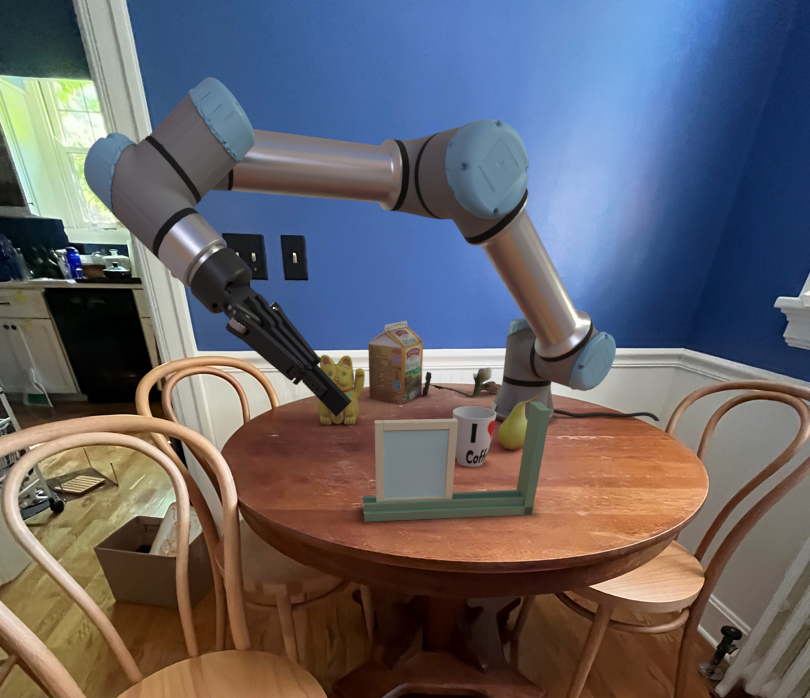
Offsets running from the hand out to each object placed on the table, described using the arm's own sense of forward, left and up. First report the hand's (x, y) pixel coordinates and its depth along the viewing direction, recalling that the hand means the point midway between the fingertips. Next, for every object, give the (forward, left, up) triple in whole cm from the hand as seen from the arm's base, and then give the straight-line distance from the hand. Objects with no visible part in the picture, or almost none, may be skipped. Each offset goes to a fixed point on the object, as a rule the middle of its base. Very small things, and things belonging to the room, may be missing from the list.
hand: (344, 408), depth 67 cm
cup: (-24, -20, -17) cm, 36 cm away
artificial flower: (-33, -68, -17) cm, 78 cm away
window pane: (-10, 0, -15) cm, 18 cm away
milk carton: (-14, -68, -17) cm, 72 cm away
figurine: (+1, -48, -17) cm, 51 cm away
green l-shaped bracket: (-16, 0, -17) cm, 23 cm away
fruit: (-35, -26, -17) cm, 47 cm away
